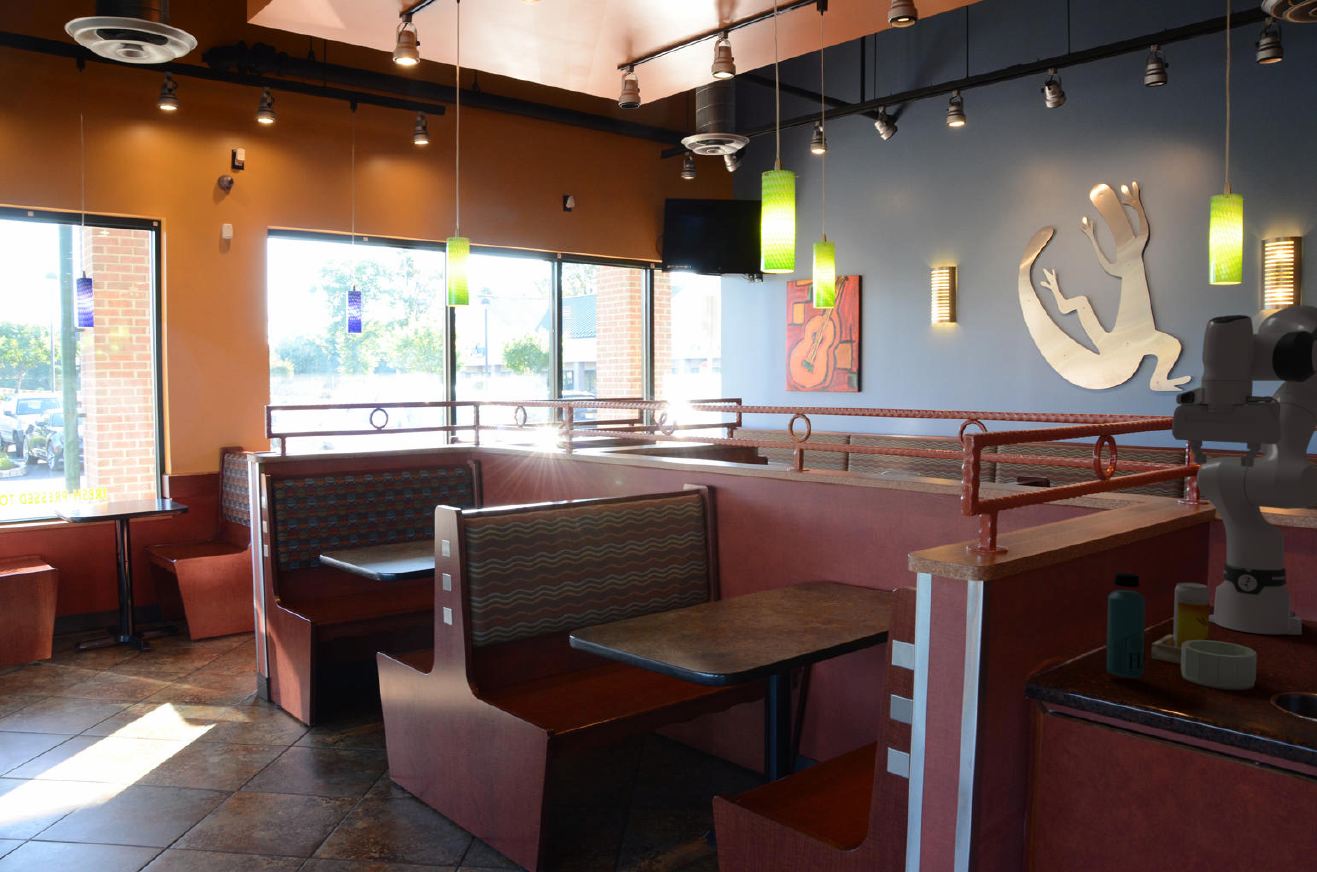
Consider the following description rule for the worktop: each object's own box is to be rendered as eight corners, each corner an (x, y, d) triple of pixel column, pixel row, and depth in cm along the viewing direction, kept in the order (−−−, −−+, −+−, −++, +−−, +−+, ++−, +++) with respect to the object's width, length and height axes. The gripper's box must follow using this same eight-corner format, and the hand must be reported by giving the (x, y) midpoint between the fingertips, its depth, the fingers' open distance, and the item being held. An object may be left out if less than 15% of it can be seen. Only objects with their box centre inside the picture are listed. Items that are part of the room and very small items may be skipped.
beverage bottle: (1129, 687, 168) (1132, 578, 167) (1096, 677, 174) (1099, 572, 173) (1152, 682, 171) (1155, 575, 170) (1119, 673, 177) (1122, 569, 176)
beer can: (1212, 663, 184) (1214, 588, 183) (1178, 662, 185) (1181, 587, 184) (1200, 655, 190) (1203, 582, 189) (1168, 653, 191) (1170, 581, 190)
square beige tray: (1169, 648, 195) (1169, 631, 195) (1228, 658, 187) (1229, 641, 187) (1151, 658, 187) (1151, 640, 187) (1212, 670, 180) (1213, 651, 179)
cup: (1192, 667, 181) (1193, 636, 181) (1261, 680, 173) (1262, 648, 173) (1173, 679, 173) (1174, 647, 173) (1244, 694, 165) (1246, 660, 165)
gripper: (1290, 396, 178) (1286, 468, 179) (1187, 396, 197) (1185, 461, 197) (1270, 395, 175) (1267, 468, 176) (1168, 395, 194) (1166, 461, 194)
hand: (1223, 464), depth 187 cm, fingers open, 8 cm apart
